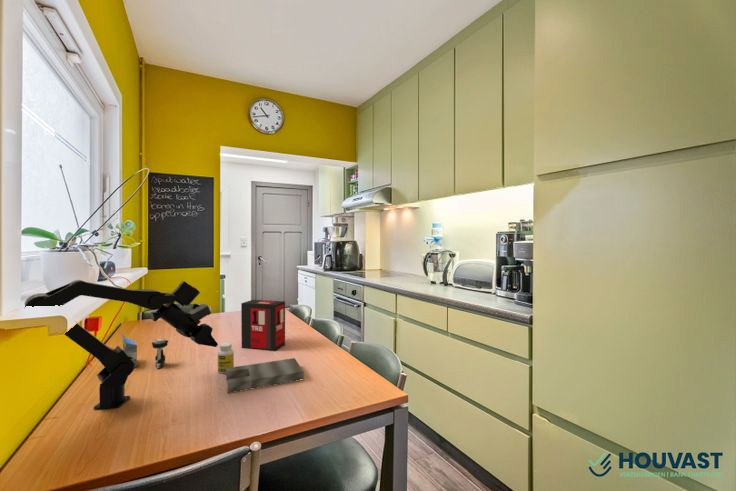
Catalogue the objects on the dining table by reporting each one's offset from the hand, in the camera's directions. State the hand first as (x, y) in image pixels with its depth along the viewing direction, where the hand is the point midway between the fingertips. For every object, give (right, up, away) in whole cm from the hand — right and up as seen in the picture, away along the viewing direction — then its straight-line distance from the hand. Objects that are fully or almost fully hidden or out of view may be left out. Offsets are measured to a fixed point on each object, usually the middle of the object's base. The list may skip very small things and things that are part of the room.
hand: (211, 342), depth 118 cm
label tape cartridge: (-36, -11, +10) cm, 39 cm away
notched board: (+20, -12, -2) cm, 23 cm away
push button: (-23, -12, +8) cm, 27 cm away
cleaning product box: (+9, -11, +32) cm, 35 cm away
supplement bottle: (+3, -12, +4) cm, 13 cm away
